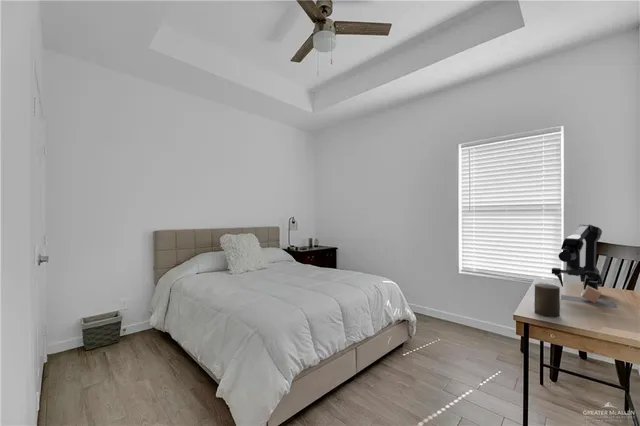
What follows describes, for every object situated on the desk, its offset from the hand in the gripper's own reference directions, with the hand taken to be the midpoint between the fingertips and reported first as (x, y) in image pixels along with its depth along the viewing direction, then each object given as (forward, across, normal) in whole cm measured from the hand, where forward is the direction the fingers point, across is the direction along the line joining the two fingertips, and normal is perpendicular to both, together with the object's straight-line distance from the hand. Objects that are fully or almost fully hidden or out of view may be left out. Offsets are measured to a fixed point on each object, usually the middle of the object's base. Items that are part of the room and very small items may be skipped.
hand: (573, 288), depth 162 cm
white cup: (+7, -11, -15) cm, 20 cm away
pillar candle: (+7, -10, -37) cm, 39 cm away
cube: (+1, +4, 0) cm, 5 cm away
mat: (+6, +6, 0) cm, 9 cm away
